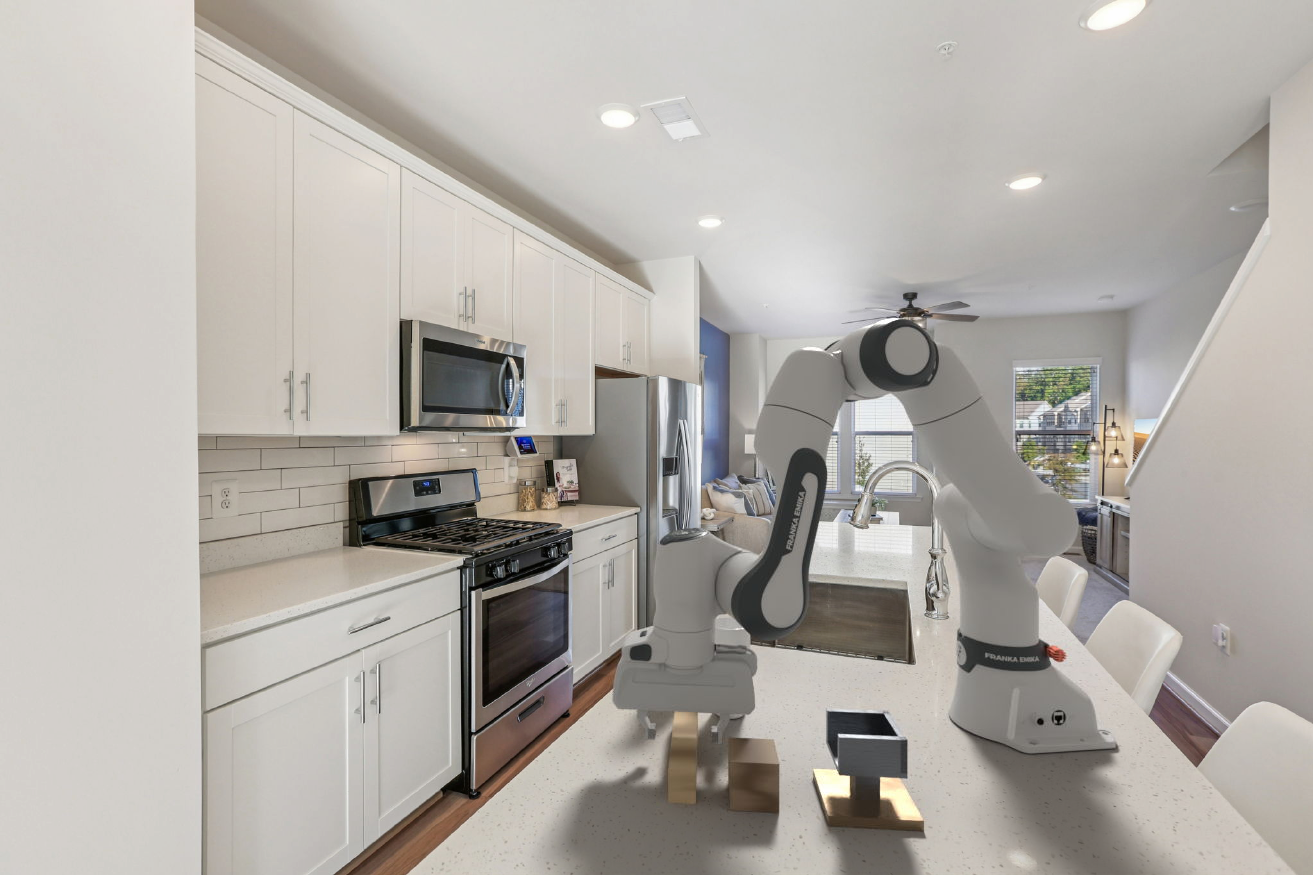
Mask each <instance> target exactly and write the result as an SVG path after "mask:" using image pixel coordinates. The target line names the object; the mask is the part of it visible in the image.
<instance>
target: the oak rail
mask: <svg viewBox="0 0 1313 875" xmlns="http://www.w3.org/2000/svg"><path fill="white" fill-rule="evenodd" d="M673 712H674V711H673ZM698 714H699V713H695V712H674V714H673V723H672V731H671V732H672V733H671V741H670V749H669V750H670V751H669V760H668V768H667V769H668V770H667V772H668V773H667V777H668V779H667V783H668V786H667V790H668V791H667V803H671V804H687V805H688V804H690V805H691V804H692V805H696V804H697V777H698V776H697V773H698V768H697V766H698V733H699V724H698V722H699V721H698V720H699V717H698V716H699V715H698Z"/></svg>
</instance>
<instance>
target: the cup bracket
mask: <svg viewBox="0 0 1313 875" xmlns="http://www.w3.org/2000/svg"><path fill="white" fill-rule="evenodd" d="M825 709H826V710H825V711H826V713H825V714H826V715H825V717H826V719H825V726H826V727H825V728H826V729H825V730H826V731H825V738H826V739H825V743H826V746H827V748H828V750H829V753H830V756H831V758H832V761H833V763H834V766H835V768H836V769H827V768H826V769H824V768H823V769H821V768H812V769H813V770H812V778H813V781H814V784H815V788H816V791H817V793H818V794H817V795H818V797H819V801H820V804H821V807H822V811H823V814H824V817H825V820H826V822H827V826H828V827H842V828H857V829H858V828H859V829H861V828H862V829H876V830H877V829H880V830H894V831H895V830H896V831H897V830H898V831H914V832H915V831H916V832H924V831H925V820H924V818H923V816H922V814H921V813H920V811H919V810H918V808H917V806H916V804H915V803H914V801H913V798H912V797H911V796H910V794H909V792H908V790H907V789H906V787H905V785H904V783H903V781H902V780H901V779H904V780H905V779H908V768H909V767H908V760H909V759H908V747H909V746H908V745H909V744H908V738H907V737H906V735H905V734H904V733H903V731H902V730H901V728H900V726H899V725H898V724H897V721H895V719H894V717H893V716H892V715H891V713H890V712H889V710H878V709H877V710H874V709H851V708H848V709H847V708H845V709H844V708H825Z"/></svg>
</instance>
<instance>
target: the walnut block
mask: <svg viewBox="0 0 1313 875" xmlns="http://www.w3.org/2000/svg"><path fill="white" fill-rule="evenodd" d="M727 738H728V740H727V742H728V744H727V745H728V748H727V751H728V752H727V753H728V755H727V759H728V762H727V763H728V766H727V768H728V770H727V776H728V778H727V779H728V780H727V781H728V782H727V783H728V784H727V785H728V796H729V797H728V799H729V811H738V812H739V811H740V812H755V813H756V812H757V813H758V812H759V813H773V814H774V813H776V814H778V813H780V760H779V756H778V752H777V748H776V743H775V739H774V738H754V737H751V738H750V737H733V736H731V737H729V736H728V737H727Z"/></svg>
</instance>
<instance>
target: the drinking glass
mask: <svg viewBox="0 0 1313 875" xmlns="http://www.w3.org/2000/svg"><path fill="white" fill-rule="evenodd" d="M715 644H725V645H733V646H737V645H744V646H747V648H748V649H751V635H750V634H749V633H748V632H747V631H746V630H745V629H744V628H743V627H742V626H741V625H740V624H739V623H738V622H737V621H736V620H735V619H733V618H732V617H718V618H716V619H715ZM715 653H716V651H715ZM747 653H750V652H748V651H747ZM715 714H716V715H717V716H718V717H720V714H717V713H715ZM743 716H744V715H739V714H730V720H736V719H740V718H742V717H743Z"/></svg>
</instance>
